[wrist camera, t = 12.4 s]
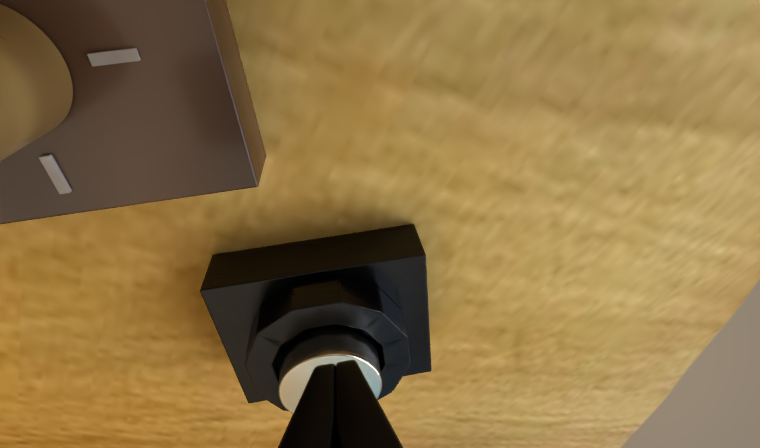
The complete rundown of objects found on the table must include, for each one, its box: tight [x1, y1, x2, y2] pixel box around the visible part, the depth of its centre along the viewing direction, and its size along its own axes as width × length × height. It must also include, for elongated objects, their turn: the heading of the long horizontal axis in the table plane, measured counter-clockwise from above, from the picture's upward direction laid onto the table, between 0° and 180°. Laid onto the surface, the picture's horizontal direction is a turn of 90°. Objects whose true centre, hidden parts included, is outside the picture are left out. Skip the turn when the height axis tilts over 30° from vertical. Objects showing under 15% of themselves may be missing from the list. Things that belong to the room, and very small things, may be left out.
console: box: [0, 0, 266, 224], centre depth 14 cm, size 13×10×3 cm
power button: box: [278, 325, 382, 414], centre depth 18 cm, size 4×4×2 cm
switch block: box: [200, 224, 431, 411], centre depth 21 cm, size 10×8×4 cm
